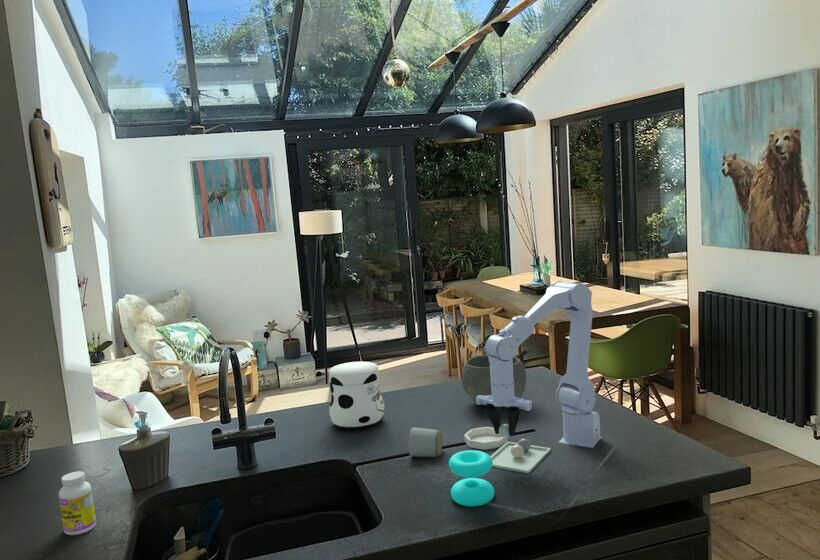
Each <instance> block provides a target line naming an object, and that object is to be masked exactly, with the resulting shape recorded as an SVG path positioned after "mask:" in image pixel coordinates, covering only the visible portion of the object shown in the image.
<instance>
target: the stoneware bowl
mask: <svg viewBox="0 0 820 560" xmlns="http://www.w3.org/2000/svg"><path fill="white" fill-rule="evenodd" d="M463 435H464V436H463V437H464V442H465V443H466V445H467V446H468V447H469V448H473V449H477V450H493V449H496V448H498V449H499V448H501V447H502V446H503V445H504V444H505V443H506V442H509V440H508V437H502V436H501V435H500V434H495V431H494V427H493V426H492V427H491V426H484V427H477V428H471V429H470V430H468V431H467V432H466V433H465V434H464V433H463Z"/></svg>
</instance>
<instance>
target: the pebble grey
mask: <svg viewBox="0 0 820 560" xmlns="http://www.w3.org/2000/svg"><path fill="white" fill-rule="evenodd" d="M498 432H499V434H500V435H501V436H502V437H507V438H508V437H511V436H510V435H509V423H501V425H500V427H499V429H498Z"/></svg>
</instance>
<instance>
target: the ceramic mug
mask: <svg viewBox="0 0 820 560" xmlns="http://www.w3.org/2000/svg"><path fill="white" fill-rule="evenodd" d="M407 445H408V447H407V448H408V453H409V456H410V457H414V456H415V458H416V457H418V458H437V457H439V456H440V455H441V453H442V449H443V434H442V432H441V431H440V430H437V429H434V428H424V427H415V426H414V427H412V428H410V431H409V435H408V444H407Z"/></svg>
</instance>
